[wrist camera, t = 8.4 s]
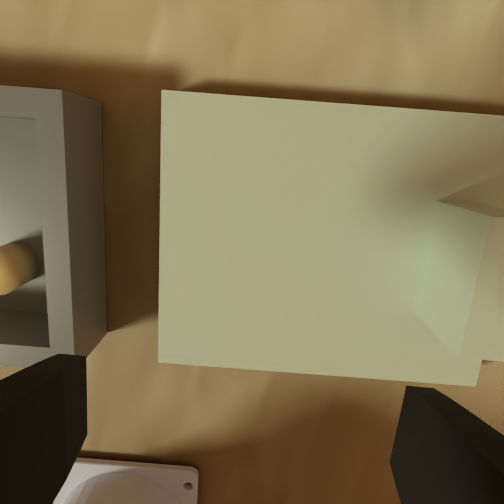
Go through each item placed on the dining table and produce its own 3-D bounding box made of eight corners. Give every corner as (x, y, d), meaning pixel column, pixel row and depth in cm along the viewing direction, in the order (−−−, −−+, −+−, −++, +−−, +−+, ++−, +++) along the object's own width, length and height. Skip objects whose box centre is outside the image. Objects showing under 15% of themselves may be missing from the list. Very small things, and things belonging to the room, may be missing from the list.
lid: (456, 365, 20) (533, 449, 15) (166, 344, 20) (130, 419, 15) (513, 121, 17) (637, 108, 11) (171, 95, 17) (128, 69, 11)
